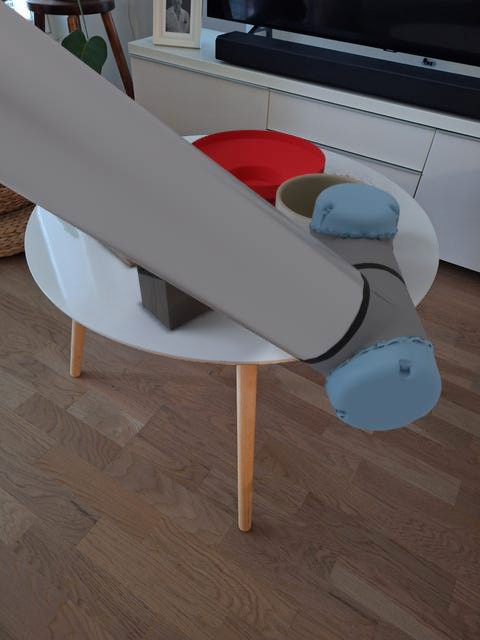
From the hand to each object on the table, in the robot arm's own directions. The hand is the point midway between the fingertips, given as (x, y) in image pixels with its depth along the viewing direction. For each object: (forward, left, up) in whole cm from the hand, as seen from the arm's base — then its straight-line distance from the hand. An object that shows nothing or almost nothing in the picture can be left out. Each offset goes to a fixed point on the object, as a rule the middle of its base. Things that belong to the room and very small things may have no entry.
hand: (167, 214), depth 67 cm
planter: (+26, +5, -16) cm, 31 cm away
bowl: (+18, +35, -16) cm, 43 cm away
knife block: (+1, -2, -16) cm, 16 cm away
